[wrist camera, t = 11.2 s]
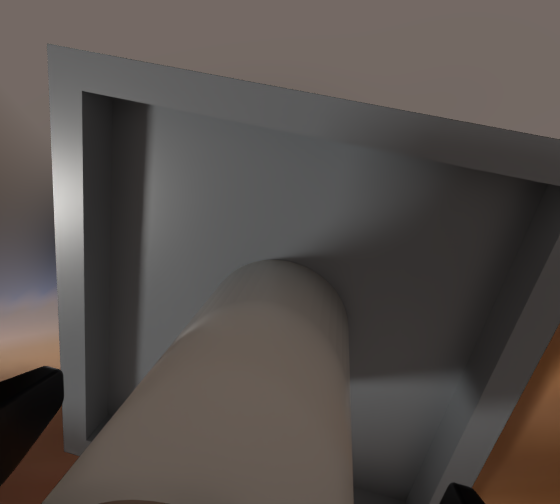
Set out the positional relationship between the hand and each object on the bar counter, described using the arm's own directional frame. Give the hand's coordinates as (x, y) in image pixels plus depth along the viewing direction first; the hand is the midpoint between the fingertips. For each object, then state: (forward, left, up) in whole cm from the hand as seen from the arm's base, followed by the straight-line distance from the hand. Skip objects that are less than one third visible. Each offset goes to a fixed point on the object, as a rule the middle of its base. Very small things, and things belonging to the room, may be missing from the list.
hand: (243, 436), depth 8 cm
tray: (0, 0, -6) cm, 6 cm away
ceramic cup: (0, 0, -5) cm, 5 cm away
